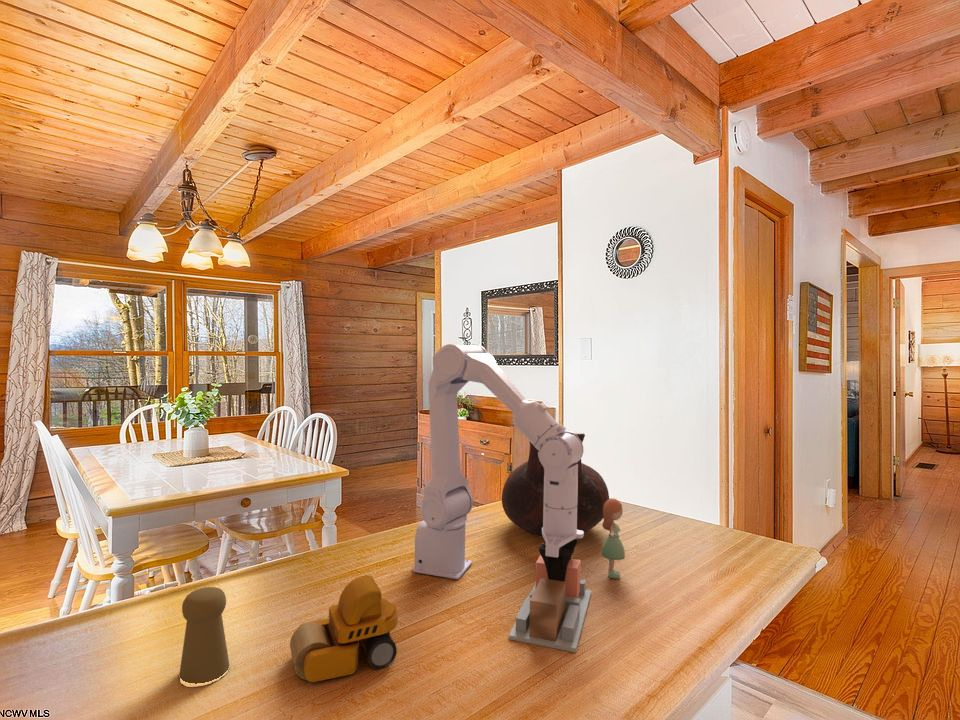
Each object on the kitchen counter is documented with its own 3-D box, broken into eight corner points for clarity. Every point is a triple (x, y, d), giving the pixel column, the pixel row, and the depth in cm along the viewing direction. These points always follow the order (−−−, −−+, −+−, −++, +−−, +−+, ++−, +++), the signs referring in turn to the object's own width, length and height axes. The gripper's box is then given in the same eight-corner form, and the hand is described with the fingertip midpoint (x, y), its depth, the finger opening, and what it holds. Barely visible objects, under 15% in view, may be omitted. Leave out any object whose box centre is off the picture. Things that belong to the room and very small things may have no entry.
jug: (608, 518, 135) (610, 420, 134) (608, 558, 110) (611, 438, 109) (510, 510, 140) (512, 416, 139) (491, 545, 116) (493, 432, 115)
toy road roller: (287, 655, 75) (288, 582, 75) (387, 632, 81) (387, 564, 81) (296, 693, 67) (296, 611, 67) (405, 663, 73) (405, 589, 73)
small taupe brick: (529, 636, 79) (529, 600, 79) (540, 610, 87) (541, 577, 87) (555, 641, 78) (556, 605, 78) (564, 615, 86) (565, 581, 85)
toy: (626, 593, 95) (628, 510, 94) (601, 591, 96) (603, 508, 95) (622, 563, 108) (623, 490, 107) (600, 561, 109) (601, 488, 108)
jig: (508, 639, 80) (509, 622, 80) (536, 584, 98) (536, 570, 98) (575, 652, 76) (576, 634, 76) (591, 593, 94) (591, 579, 94)
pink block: (535, 594, 91) (536, 562, 90) (539, 585, 94) (540, 554, 94) (576, 601, 88) (577, 568, 88) (579, 591, 92) (580, 560, 92)
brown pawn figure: (191, 659, 73) (191, 581, 73) (236, 658, 74) (236, 580, 74) (169, 688, 67) (169, 603, 67) (219, 686, 68) (218, 602, 67)
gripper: (577, 520, 82) (575, 606, 83) (589, 495, 96) (587, 569, 97) (533, 515, 85) (531, 598, 85) (550, 491, 98) (549, 563, 99)
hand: (558, 582), depth 91 cm, fingers closed on pink block, 3 cm apart
